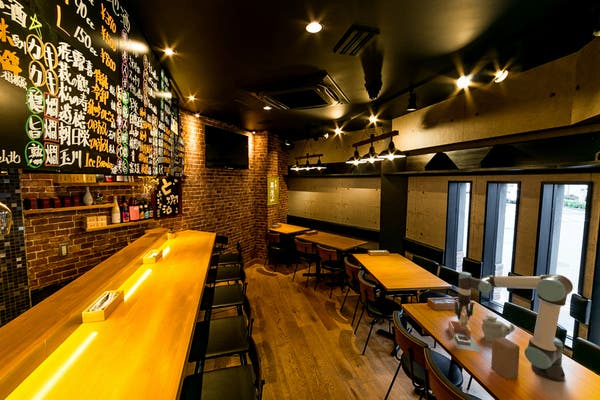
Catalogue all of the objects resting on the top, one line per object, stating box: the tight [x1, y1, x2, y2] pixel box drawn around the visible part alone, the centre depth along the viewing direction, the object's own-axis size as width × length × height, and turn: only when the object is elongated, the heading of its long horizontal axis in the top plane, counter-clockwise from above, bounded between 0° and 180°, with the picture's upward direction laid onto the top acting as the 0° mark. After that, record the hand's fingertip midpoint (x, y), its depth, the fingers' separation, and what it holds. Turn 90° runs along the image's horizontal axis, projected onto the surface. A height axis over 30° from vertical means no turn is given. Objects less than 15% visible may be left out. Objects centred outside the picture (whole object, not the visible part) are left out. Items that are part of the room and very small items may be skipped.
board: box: [446, 327, 483, 353], centre depth 192 cm, size 27×16×1 cm, turn 163°
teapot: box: [481, 315, 516, 343], centre depth 190 cm, size 16×15×19 cm
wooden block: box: [490, 337, 521, 380], centre depth 158 cm, size 10×10×20 cm
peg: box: [460, 312, 467, 329], centre depth 189 cm, size 4×4×10 cm
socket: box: [455, 334, 471, 345], centre depth 190 cm, size 8×8×2 cm
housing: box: [447, 320, 472, 340], centre depth 198 cm, size 12×12×7 cm
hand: (463, 323), depth 189 cm, fingers closed on peg, 4 cm apart
